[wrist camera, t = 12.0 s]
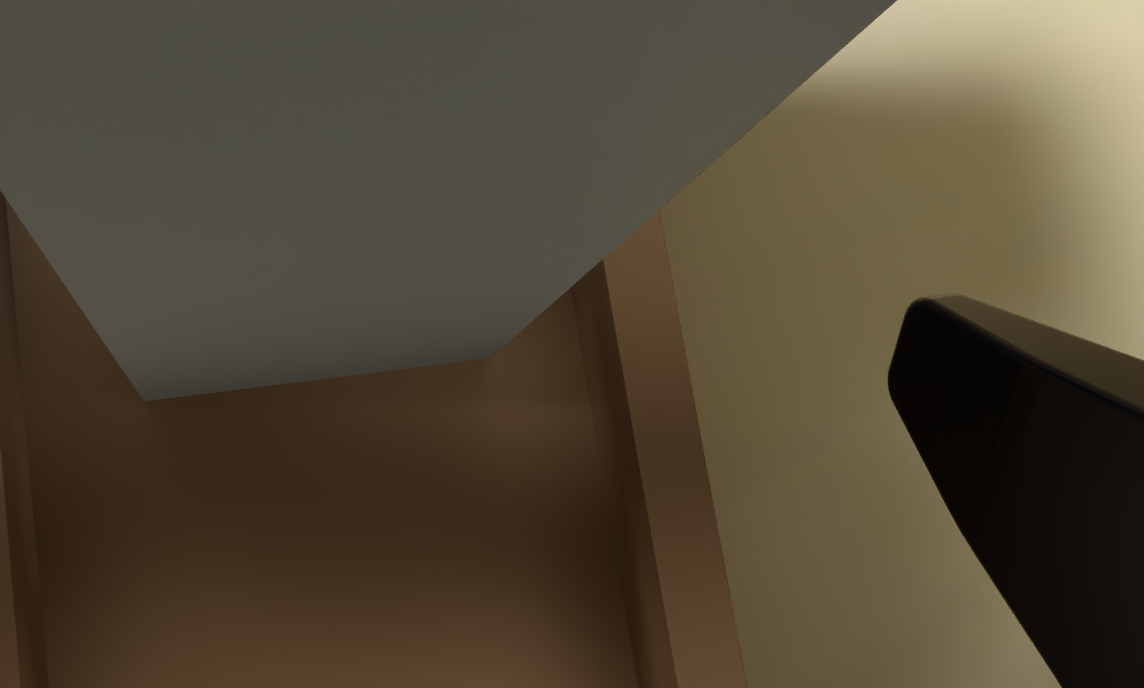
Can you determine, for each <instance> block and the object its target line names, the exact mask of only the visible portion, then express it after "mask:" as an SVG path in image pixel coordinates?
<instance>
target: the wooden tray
mask: <svg viewBox="0 0 1144 688" xmlns="http://www.w3.org/2000/svg"><path fill="white" fill-rule="evenodd" d="M0 688H747V685H746V680H745V674H744V669H743V664H742V658H741V653H740V647H739V642H738V636H737V631H736V626H735V620H734V615H733V609H732V604H731V599H730V593H729V588H728V582H727V577H726V572H725V566H724V561H723V555H722V550H721V544H720V539H719V534H718V528H717V523H716V517H715V512H714V507H713V501H712V496H711V490H710V485H709V479H708V474H707V469H706V463H705V458H704V452H703V447H702V442H701V436H700V431H699V425H698V420H697V415H696V409H695V404H694V398H693V393H692V387H691V382H690V377H689V371H688V366H687V360H686V355H685V350H684V344H683V339H682V333H681V328H680V322H679V317H678V312H677V306H676V301H675V295H674V290H673V285H672V279H671V274H670V268H669V263H668V258H667V252H666V247H665V241H664V236H663V230H662V225H661V220H660V214H659V210H658V211H657V212H656V213H655V214H653V215H652V216H651V217H650V218H649V219H648V220H647V221H646V222H644V223H643V224H642V225H641V226H640V227H639V228H638V229H636V230H635V231H634V232H633V233H632V234H631V235H630V236H628V237H627V238H626V239H625V240H624V241H623V242H622V243H621V244H619V245H618V246H617V247H616V248H615V249H614V250H613V251H611V252H610V253H609V254H608V255H607V256H606V257H605V258H603V259H602V260H601V261H600V262H599V263H598V264H597V265H595V266H594V267H593V268H592V269H591V270H590V271H589V272H588V273H586V274H585V275H584V276H583V277H582V278H581V279H580V280H578V281H577V282H576V283H575V284H574V285H573V286H572V287H570V288H569V289H568V290H567V291H566V292H565V293H564V294H563V295H561V296H560V297H559V298H558V299H557V300H556V301H555V302H553V303H552V304H551V305H550V306H549V307H548V308H547V309H545V310H544V311H543V312H542V313H541V314H540V315H539V316H537V317H536V318H535V319H534V320H533V321H532V322H531V323H530V324H528V325H527V326H526V327H525V328H524V329H523V330H522V331H520V332H519V333H518V334H517V335H516V336H515V337H514V338H512V339H511V340H510V341H509V342H508V343H507V344H506V345H505V346H503V347H502V348H501V349H500V350H499V351H498V352H497V353H495V354H494V355H493V356H492V357H491V358H489V359H481V360H473V361H465V362H457V363H448V364H440V365H432V366H424V367H416V368H408V369H400V370H392V371H384V372H376V373H368V374H360V375H352V376H344V377H336V378H328V379H320V380H312V381H303V382H295V383H287V384H279V385H271V386H263V387H255V388H247V389H239V390H231V391H223V392H215V393H207V394H199V395H191V396H183V397H175V398H166V399H158V400H150V401H143V399H142V398H141V396H140V395H139V393H138V392H137V391H136V389H135V388H134V386H133V385H132V383H131V382H130V380H129V379H128V377H127V376H126V374H125V373H124V371H123V370H122V368H121V367H120V366H119V364H118V363H117V361H116V360H115V358H114V357H113V355H112V354H111V352H110V351H109V349H108V348H107V346H106V345H105V343H104V342H103V341H102V339H101V338H100V336H99V335H98V333H97V332H96V330H95V329H94V327H93V326H92V324H91V323H90V321H89V320H88V318H87V317H86V316H85V314H84V313H83V311H82V310H81V308H80V307H79V305H78V304H77V302H76V301H75V299H74V298H73V296H72V295H71V293H70V292H69V291H68V289H67V288H66V286H65V285H64V283H63V282H62V280H61V279H60V277H59V276H58V274H57V273H56V271H55V270H54V268H53V267H52V266H51V264H50V263H49V261H48V260H47V258H46V257H45V255H44V254H43V252H42V251H41V249H40V248H39V246H38V245H37V243H36V242H35V241H34V239H33V238H32V236H31V235H30V233H29V232H28V230H27V229H26V227H25V226H24V224H23V223H22V221H21V220H20V218H19V217H18V216H17V214H16V213H15V211H14V210H13V208H12V207H11V205H10V204H9V202H8V201H7V199H6V198H5V196H4V195H3V194H2V192H1V191H0Z"/></svg>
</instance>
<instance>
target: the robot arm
mask: <svg viewBox="0 0 1144 688" xmlns="http://www.w3.org/2000/svg"><path fill="white" fill-rule="evenodd" d="M888 389H889V393H890V396H891V399H892V401H893V403H894V405H895V407H896V409H897V411H898V413H899V415H900V417H901V419H902V421H903V423H904V425H905V427H906V429H907V430H908V432H909V434H910V436H911V438H912V440H913V442H914V444H915V446H916V448H917V450H918V452H919V454H920V456H921V458H922V459H923V461H924V463H925V465H926V467H927V469H928V471H929V473H930V475H931V477H932V479H933V481H934V483H935V485H936V487H937V488H938V490H939V492H940V494H941V496H942V498H943V500H944V502H945V504H946V506H947V508H948V510H949V512H950V513H951V515H952V517H953V519H954V521H955V522H956V524H957V526H958V528H959V530H960V531H961V533H962V535H963V536H964V538H965V540H966V541H967V543H968V544H969V546H970V548H971V549H972V551H973V553H974V554H975V556H976V557H977V559H978V560H979V562H980V563H981V565H982V566H983V568H984V569H985V571H986V572H987V574H988V576H989V577H990V579H991V580H992V582H993V583H994V585H995V586H996V588H997V589H998V591H999V592H1000V594H1001V595H1002V597H1003V598H1004V600H1005V602H1006V603H1007V605H1008V606H1009V608H1010V609H1011V611H1012V612H1013V614H1014V615H1015V617H1016V618H1017V620H1018V621H1019V623H1020V624H1021V626H1022V628H1023V629H1024V631H1025V632H1026V634H1027V635H1028V637H1029V638H1030V640H1031V641H1032V643H1033V644H1034V646H1035V647H1036V649H1037V650H1038V652H1039V653H1040V655H1041V657H1042V658H1043V660H1044V661H1045V663H1046V664H1047V666H1048V667H1049V669H1050V670H1051V672H1052V673H1053V675H1054V676H1055V678H1056V679H1057V681H1058V683H1059V684H1060V686H1061V687H1062V688H1144V360H1141V359H1138V358H1135V357H1133V356H1130V355H1127V354H1124V353H1121V352H1119V351H1116V350H1113V349H1110V348H1108V347H1105V346H1102V345H1099V344H1096V343H1094V342H1091V341H1088V340H1085V339H1083V338H1080V337H1077V336H1074V335H1071V334H1069V333H1066V332H1063V331H1060V330H1058V329H1055V328H1052V327H1049V326H1046V325H1044V324H1041V323H1038V322H1035V321H1033V320H1030V319H1027V318H1024V317H1021V316H1019V315H1016V314H1013V313H1010V312H1008V311H1005V310H1002V309H999V308H997V307H994V306H991V305H988V304H985V303H983V302H980V301H977V300H974V299H972V298H969V297H966V296H963V295H959V294H945V295H936V296H928V297H921V298H918V299H916V300H915V301H913V302H912V303H911V305H910V306H909V307H908V309H907V311H906V313H905V316H904V319H903V323H902V326H901V330H900V333H899V336H898V340H897V343H896V347H895V350H894V354H893V357H892V360H891V364H890V367H889V371H888Z"/></svg>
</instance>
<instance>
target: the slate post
mask: <svg viewBox="0 0 1144 688" xmlns="http://www.w3.org/2000/svg"><path fill="white" fill-rule="evenodd" d="M896 1H897V0H0V191H1V192H2V194H3V195H4V196H5V198H6V199H7V201H8V202H9V204H10V205H11V207H12V208H13V210H14V211H15V213H16V214H17V216H18V217H19V218H20V220H21V221H22V223H23V224H24V226H25V227H26V229H27V230H28V232H29V233H30V235H31V236H32V238H33V239H34V241H35V242H36V243H37V245H38V246H39V248H40V249H41V251H42V252H43V254H44V255H45V257H46V258H47V260H48V261H49V263H50V264H51V266H52V267H53V268H54V270H55V271H56V273H57V274H58V276H59V277H60V279H61V280H62V282H63V283H64V285H65V286H66V288H67V289H68V291H69V292H70V293H71V295H72V296H73V298H74V299H75V301H76V302H77V304H78V305H79V307H80V308H81V310H82V311H83V313H84V314H85V316H86V317H87V318H88V320H89V321H90V323H91V324H92V326H93V327H94V329H95V330H96V332H97V333H98V335H99V336H100V338H101V339H102V341H103V342H104V343H105V345H106V346H107V348H108V349H109V351H110V352H111V354H112V355H113V357H114V358H115V360H116V361H117V363H118V364H119V366H120V367H121V368H122V370H123V371H124V373H125V374H126V376H127V377H128V379H129V380H130V382H131V383H132V385H133V386H134V388H135V389H136V391H137V392H138V393H139V395H140V396H141V398H142V399H143V401H150V400H158V399H166V398H175V397H183V396H191V395H199V394H207V393H215V392H223V391H231V390H239V389H247V388H255V387H263V386H271V385H279V384H287V383H295V382H303V381H312V380H320V379H328V378H336V377H344V376H352V375H360V374H368V373H376V372H384V371H392V370H400V369H408V368H416V367H424V366H432V365H440V364H448V363H457V362H465V361H473V360H481V359H489V358H491V357H492V356H493V355H494V354H495V353H497V352H498V351H499V350H500V349H501V348H502V347H503V346H505V345H506V344H507V343H508V342H509V341H510V340H511V339H512V338H514V337H515V336H516V335H517V334H518V333H519V332H520V331H522V330H523V329H524V328H525V327H526V326H527V325H528V324H530V323H531V322H532V321H533V320H534V319H535V318H536V317H537V316H539V315H540V314H541V313H542V312H543V311H544V310H545V309H547V308H548V307H549V306H550V305H551V304H552V303H553V302H555V301H556V300H557V299H558V298H559V297H560V296H561V295H563V294H564V293H565V292H566V291H567V290H568V289H569V288H570V287H572V286H573V285H574V284H575V283H576V282H577V281H578V280H580V279H581V278H582V277H583V276H584V275H585V274H586V273H588V272H589V271H590V270H591V269H592V268H593V267H594V266H595V265H597V264H598V263H599V262H600V261H601V260H602V259H603V258H605V257H606V256H607V255H608V254H609V253H610V252H611V251H613V250H614V249H615V248H616V247H617V246H618V245H619V244H621V243H622V242H623V241H624V240H625V239H626V238H627V237H628V236H630V235H631V234H632V233H633V232H634V231H635V230H636V229H638V228H639V227H640V226H641V225H642V224H643V223H644V222H646V221H647V220H648V219H649V218H650V217H651V216H652V215H653V214H655V213H656V212H657V211H658V210H659V209H660V208H661V207H663V206H664V205H665V204H666V203H667V202H668V201H669V200H671V199H672V198H673V197H674V196H675V195H676V194H677V193H678V192H680V191H681V190H682V189H683V188H684V187H685V186H686V185H688V184H689V183H690V182H691V181H692V180H693V179H694V178H696V177H697V176H698V175H699V174H700V173H701V172H702V171H704V170H705V169H706V168H707V167H708V166H709V165H710V164H711V163H713V162H714V161H715V160H716V159H717V158H718V157H719V156H721V155H722V154H723V153H724V152H725V151H726V150H727V149H729V148H730V147H731V146H732V145H733V144H734V143H735V142H736V141H738V140H739V139H740V138H741V137H742V136H743V135H744V134H746V133H747V132H748V131H749V130H750V129H751V128H752V127H754V126H755V125H756V124H757V123H758V122H759V121H760V120H761V119H763V118H764V117H765V116H766V115H767V114H768V113H769V112H771V111H772V110H773V109H774V108H775V107H776V106H777V105H779V104H780V103H781V102H782V101H783V100H784V99H785V98H787V97H788V96H789V95H790V94H791V93H792V92H793V91H794V90H796V89H797V88H798V87H799V86H800V85H801V84H802V83H804V82H805V81H806V80H807V79H808V78H809V77H810V76H812V75H813V74H814V73H815V72H816V71H817V70H818V69H819V68H821V67H822V66H823V65H824V64H825V63H826V62H827V61H829V60H830V59H831V58H832V57H833V56H834V55H835V54H837V53H838V52H839V51H840V50H841V49H842V48H843V47H845V46H846V45H847V44H848V43H849V42H850V41H851V40H852V39H854V38H855V37H856V36H857V35H858V34H859V33H860V32H862V31H863V30H864V29H865V28H866V27H867V26H868V25H870V24H871V23H872V22H873V21H874V20H875V19H876V18H877V17H879V16H880V15H881V14H882V13H883V12H884V11H885V10H887V9H888V8H889V7H890V6H891V5H892V4H893V3H895V2H896Z"/></svg>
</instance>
